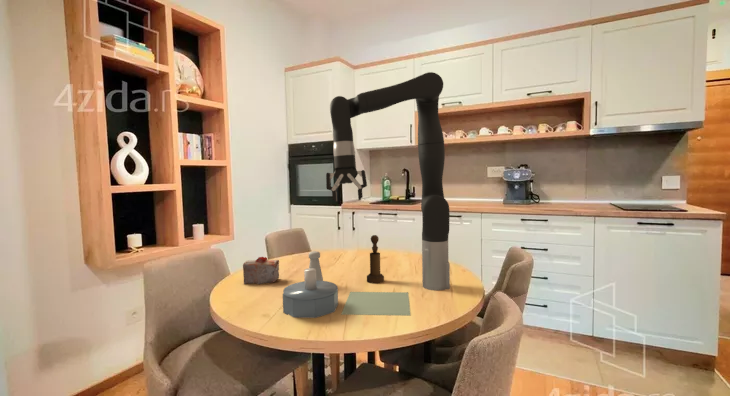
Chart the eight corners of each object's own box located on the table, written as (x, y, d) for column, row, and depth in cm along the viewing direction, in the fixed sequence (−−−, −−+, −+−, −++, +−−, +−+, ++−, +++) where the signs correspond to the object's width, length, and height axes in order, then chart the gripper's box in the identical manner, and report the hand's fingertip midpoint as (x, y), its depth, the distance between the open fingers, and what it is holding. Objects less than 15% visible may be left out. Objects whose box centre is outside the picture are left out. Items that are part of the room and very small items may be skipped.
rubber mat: (408, 293, 118) (408, 292, 118) (410, 316, 99) (410, 315, 99) (350, 292, 120) (350, 291, 120) (341, 315, 100) (341, 314, 100)
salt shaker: (324, 284, 131) (323, 250, 130) (321, 288, 125) (320, 253, 125) (309, 283, 132) (308, 250, 131) (305, 288, 126) (304, 253, 125)
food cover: (341, 299, 114) (341, 263, 113) (332, 319, 98) (331, 277, 97) (293, 298, 115) (292, 263, 115) (276, 318, 99) (274, 277, 98)
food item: (281, 278, 140) (280, 254, 140) (277, 284, 132) (277, 258, 132) (247, 279, 139) (246, 255, 139) (241, 285, 132) (240, 260, 131)
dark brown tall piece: (386, 280, 134) (385, 234, 133) (381, 285, 128) (380, 237, 127) (369, 278, 137) (369, 233, 136) (364, 283, 131) (363, 236, 130)
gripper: (322, 155, 119) (326, 202, 120) (363, 152, 118) (367, 199, 119) (326, 157, 127) (330, 201, 127) (365, 154, 126) (368, 198, 126)
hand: (347, 200), depth 123 cm, fingers open, 8 cm apart
